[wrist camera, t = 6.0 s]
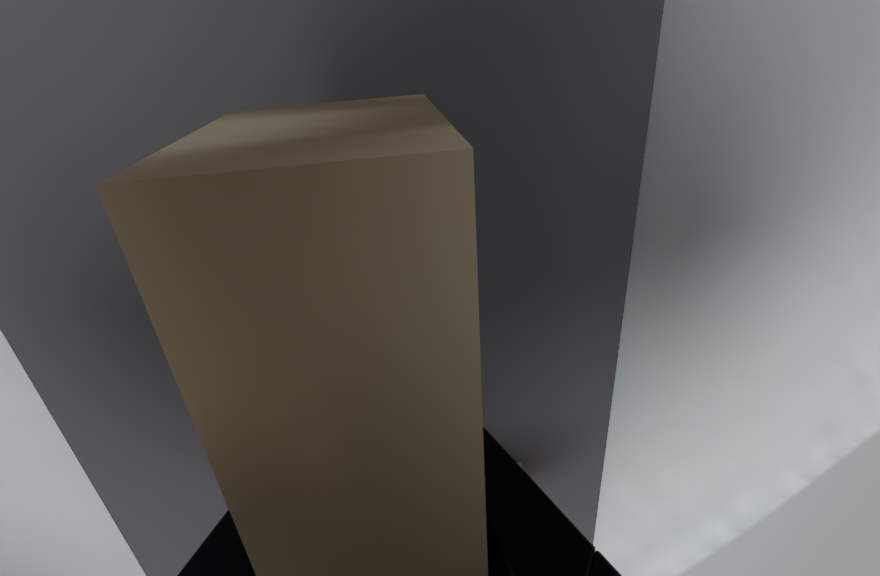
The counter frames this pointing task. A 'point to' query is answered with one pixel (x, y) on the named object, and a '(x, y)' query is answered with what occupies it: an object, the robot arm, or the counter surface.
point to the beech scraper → (323, 328)
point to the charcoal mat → (308, 82)
